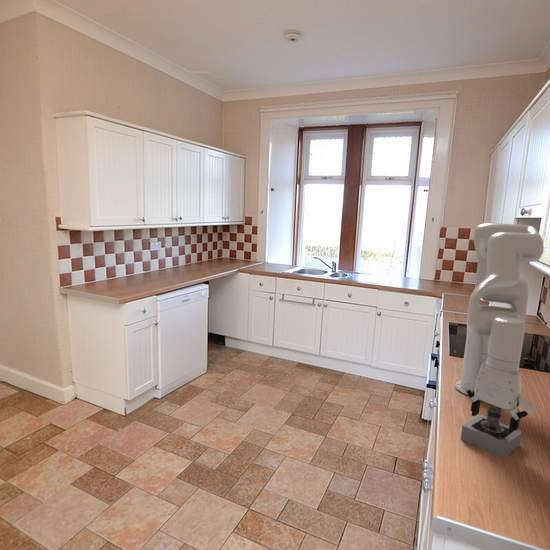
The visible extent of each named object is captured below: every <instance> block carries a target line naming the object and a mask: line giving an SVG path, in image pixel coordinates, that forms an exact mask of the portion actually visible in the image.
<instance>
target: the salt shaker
mask: <svg viewBox="0 0 550 550" xmlns="http://www.w3.org/2000/svg"><path fill="white" fill-rule="evenodd" d="M488 407H489V408H488V410H486V414H487V416H486V417H487V420H486V421H482V422H480V425H481V428H482V431H483V432H484V433H486V434H489V435H491V436H493V437H495V438H497V439H499V440H501V439H500V438H499V437H500V436H501V435H502V433H503V432H504V428H503V427H502V426H501V425H500V423H501V418H502V416H503V415H502V413H501V412H502V409H501V408H499V407H496V406H494V405H491V404H489V406H488Z"/></svg>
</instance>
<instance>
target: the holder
mask: <svg viewBox="0 0 550 550" xmlns="http://www.w3.org/2000/svg"><path fill="white" fill-rule="evenodd" d="M486 420H487V416H486V415H483V414H480V413H479V414H478V415H476V416H474V418H472V419H471V420H469V421H467V422H466V423H463V425H461V431H460V432H461V434H460V439H461V440H462V441H464V442H467V443H469V444H471V445H473V446H475V447H477V448H479V449H481V450H483V451H485V452H487V453H489V454H491V455H493V456H495V457H498V458H499V459H501V460H504V459H506V458H507V457H508V456H509V455H510V454H512V453H513V452H514V451H515V450H516V449H518V448H519V447H520V446H521V442H522V441H521V439H522V435H523V432H522V431H521V430H519V429H518V430H515V431H514V432H512V433H510V432H509V426H510V425H506V424H504V423H503V422H502V423H501V422H500V425H501V426H502V427H503V428H504V432H503V433H502V435H501V436H500V437H499V438H500V439H501V440H499V439H497V438H495V437H493V436H491V435H489V434H486V433H484V432H483V431H482V428H481V425H480V422H482V421H486Z"/></svg>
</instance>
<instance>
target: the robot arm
mask: <svg viewBox="0 0 550 550" xmlns="http://www.w3.org/2000/svg"><path fill="white" fill-rule="evenodd" d="M473 232H474V233H473V244H474V246H473V247H474V249H475V253H476V256H477V257H476V258H477V265H476V266H477V267H476V274H475V284H474V289H473V291H472V292H471V294H470V296H469V300H468V307H467V308H468V309H467V313H466V339H465V340H466V341H465V346H464V354H463V361H462V368H461V375H460V380H457V381H456V382H455V384H454V387H455V389H456V390H458V391H459V392H460V393H462V394H464V395H467V396H468V397H469V398H470V399H469V400H470V402H471V405H470V406H471V407H470V411H471V417H477V416H478V415H480V409H481V402H485V403H487V404H489V405H490V404H491V405H494V406H496V407H499V408H501V410H504V411H509V413H510V414H511V415H512V416H511V418H510V420H509V425H508V426H509V432H510V433H512V432H514V431H515V430H518V431H519V426H520V423H521V422H520V420H521V419H522V418H525V417H527V416H528V415H530V414H531V413H532V412H533V411H534V410H535V406H534V405H533V404H531V402H530V401H528V400H527V399H526V398H525V397H524V396H523V395H522V373H521V372H520V371H519V368H520V362H521V356H522V350H523V344H524V337H525V332H526V329H527V326H526V325H527V324H526V317H527V309H528V302H529V301H528V299H529V285H528V284H529V283H528V282H527V280H525V279H524V278H523V277H521V276H520V261H521V262H531V263H532V262H533V263H534V262H538V261H540V259H541V258H542V256H543V255H544V254H543V253H544V241H543V238H542V236H541V234H540V233H539V231H538V230H537V229H536V228H535V227H534V226H532V225H526V224H516V223H515V224H514V223H513V224H512V223H511V224H510V223H498V222H496V223H495V222H494V223H493V222H489V223H482V224H479V225H478V226H476V227H475V229H474V231H473ZM481 301H483V302H490V303H499V304H507V305H509V307H505V306H504V307H503V306H498V305H497V306H496V305H490V304H481V303H480V302H481ZM520 404H521V405H522V406H523V407H524V409H523V410H522V411H521V410H520V408H519V406H520Z"/></svg>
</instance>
